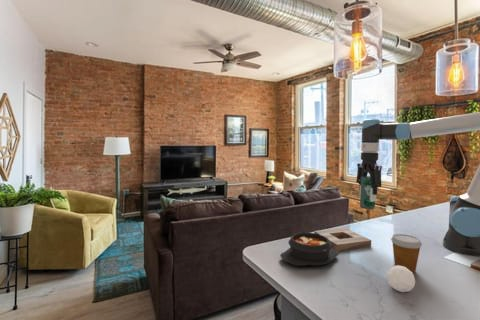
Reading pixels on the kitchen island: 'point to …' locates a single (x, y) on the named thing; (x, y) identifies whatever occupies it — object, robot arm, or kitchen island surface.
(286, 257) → the casserole
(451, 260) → the kitchen island surface
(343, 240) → the frame
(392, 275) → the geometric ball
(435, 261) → the kitchen island surface
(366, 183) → the can
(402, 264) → the disposable coffee cup
